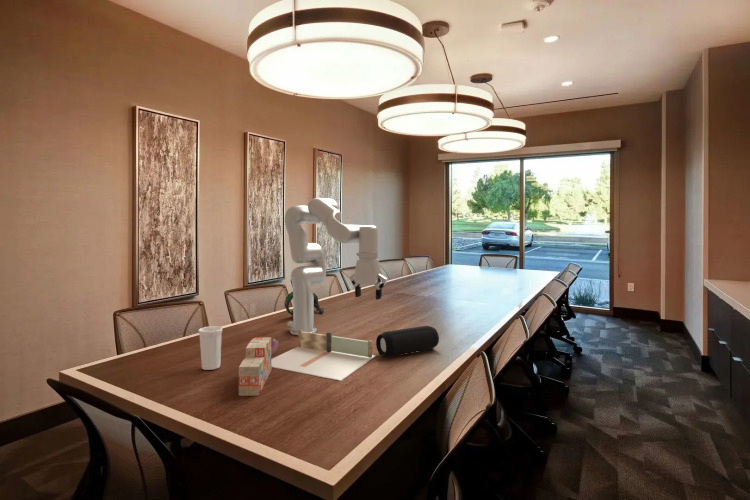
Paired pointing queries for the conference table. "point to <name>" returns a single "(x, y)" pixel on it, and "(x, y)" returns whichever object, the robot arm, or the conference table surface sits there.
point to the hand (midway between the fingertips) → (368, 297)
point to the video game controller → (273, 345)
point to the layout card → (319, 362)
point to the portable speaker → (406, 341)
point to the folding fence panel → (351, 346)
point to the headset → (292, 298)
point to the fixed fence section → (314, 340)
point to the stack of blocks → (255, 367)
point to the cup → (210, 347)
